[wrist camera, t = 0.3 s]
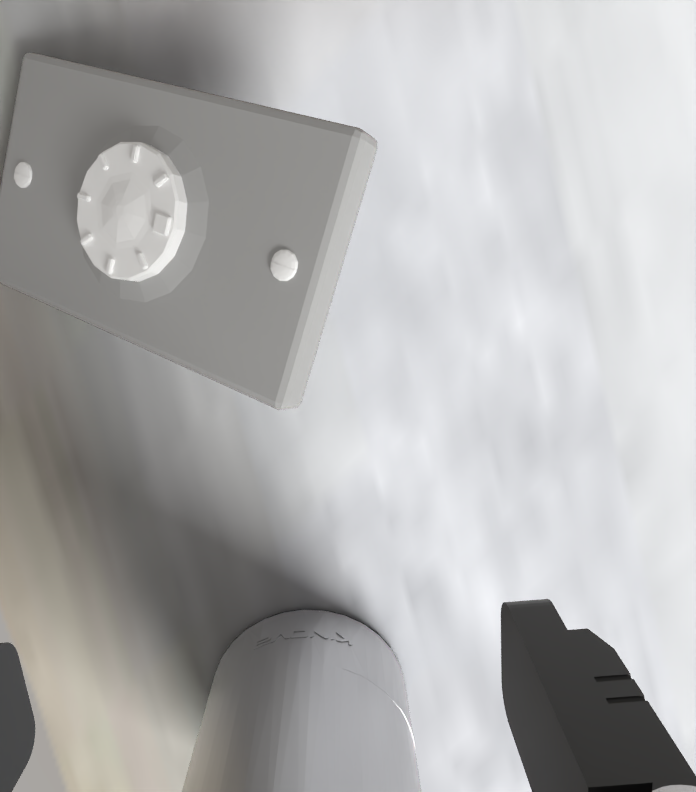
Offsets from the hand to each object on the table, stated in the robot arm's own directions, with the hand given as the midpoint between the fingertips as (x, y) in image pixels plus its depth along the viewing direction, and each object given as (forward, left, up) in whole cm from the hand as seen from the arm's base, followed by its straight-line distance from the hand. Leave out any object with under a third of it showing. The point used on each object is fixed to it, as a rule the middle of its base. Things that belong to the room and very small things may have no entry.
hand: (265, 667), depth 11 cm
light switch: (+8, +5, -18) cm, 20 cm away
